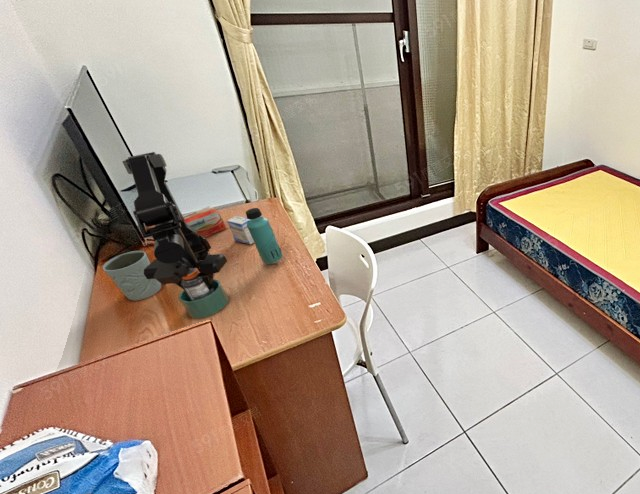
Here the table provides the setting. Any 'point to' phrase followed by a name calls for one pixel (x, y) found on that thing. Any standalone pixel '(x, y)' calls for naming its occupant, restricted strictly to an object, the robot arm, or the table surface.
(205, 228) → the medicine box
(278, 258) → the beverage bottle
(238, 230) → the medicine box
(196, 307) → the green bowl
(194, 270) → the pill bottle
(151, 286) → the grey green planter pot
